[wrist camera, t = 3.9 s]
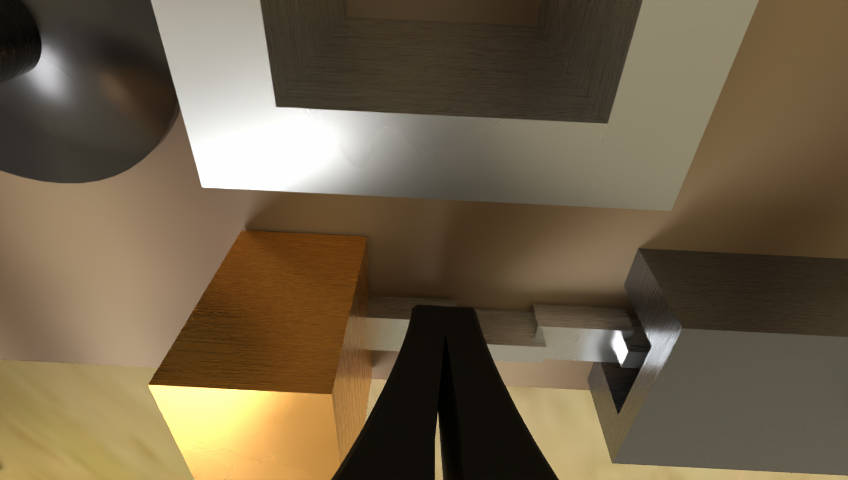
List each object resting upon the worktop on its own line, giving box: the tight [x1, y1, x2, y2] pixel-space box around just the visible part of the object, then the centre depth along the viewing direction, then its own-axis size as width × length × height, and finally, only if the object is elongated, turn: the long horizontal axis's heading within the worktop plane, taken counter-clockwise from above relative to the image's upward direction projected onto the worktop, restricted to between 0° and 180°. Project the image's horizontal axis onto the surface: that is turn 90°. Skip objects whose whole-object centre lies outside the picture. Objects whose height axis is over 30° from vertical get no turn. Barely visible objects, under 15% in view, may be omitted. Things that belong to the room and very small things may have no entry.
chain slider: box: [148, 230, 652, 480], centre depth 11 cm, size 18×5×4 cm, turn 88°
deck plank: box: [0, 0, 848, 390], centre depth 10 cm, size 30×16×1 cm, turn 88°
